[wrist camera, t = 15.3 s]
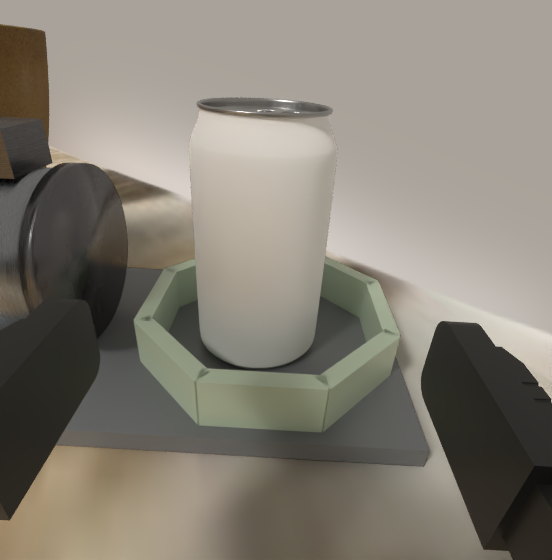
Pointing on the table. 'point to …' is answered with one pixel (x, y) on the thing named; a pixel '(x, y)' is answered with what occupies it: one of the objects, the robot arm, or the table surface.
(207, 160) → the can
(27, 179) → the cylinder
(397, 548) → the table surface
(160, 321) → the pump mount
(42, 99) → the plant pot
